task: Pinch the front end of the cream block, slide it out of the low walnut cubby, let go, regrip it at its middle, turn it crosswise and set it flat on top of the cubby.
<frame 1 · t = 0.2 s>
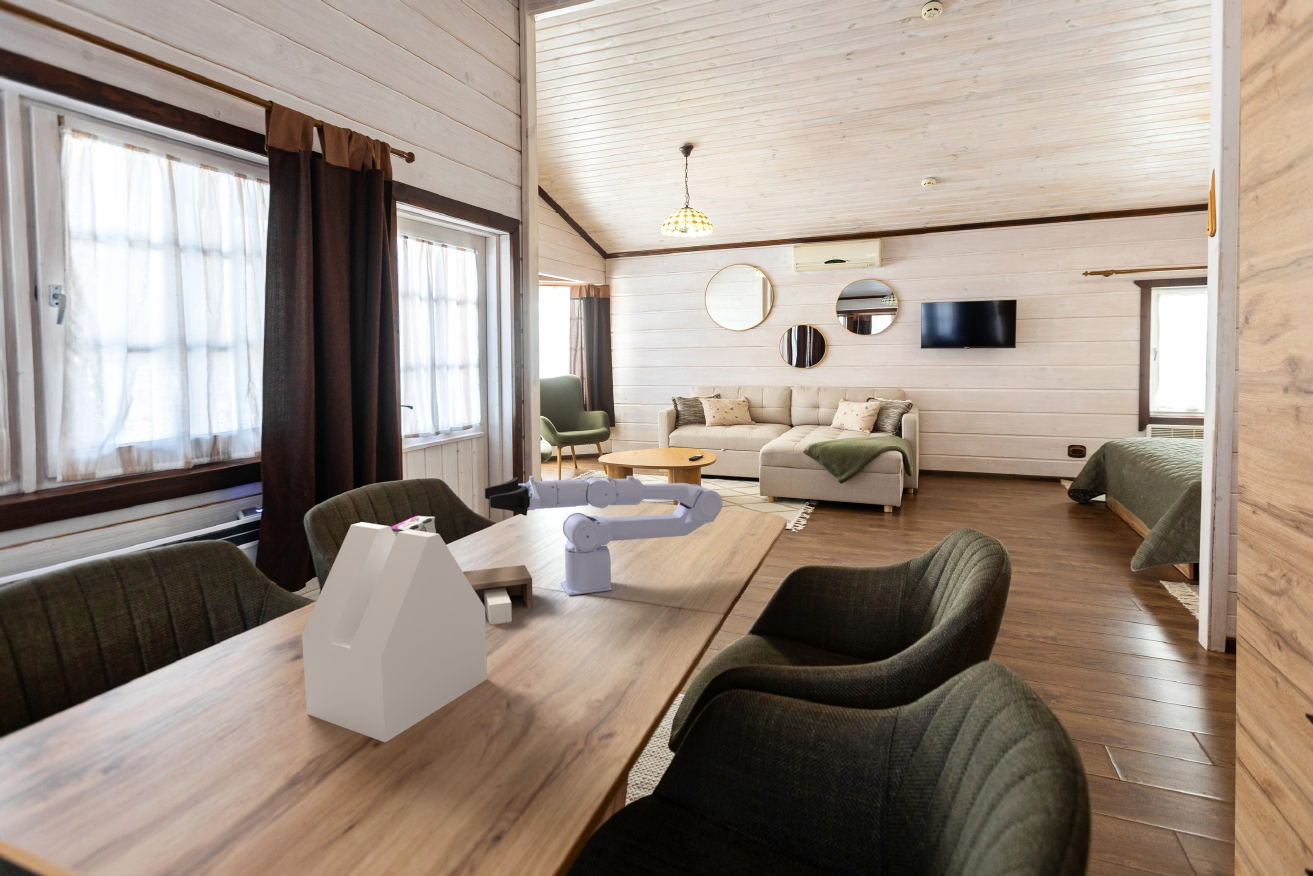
hand: (487, 497, 134), 21 cm above the table, tool horizontal, fingers open, 7 cm apart
cubby: (494, 604, 134), on the table
candy bar box: (414, 601, 136), on the table
block: (497, 615, 128), on the table
white tapered slotted holder: (401, 697, 97), on the table
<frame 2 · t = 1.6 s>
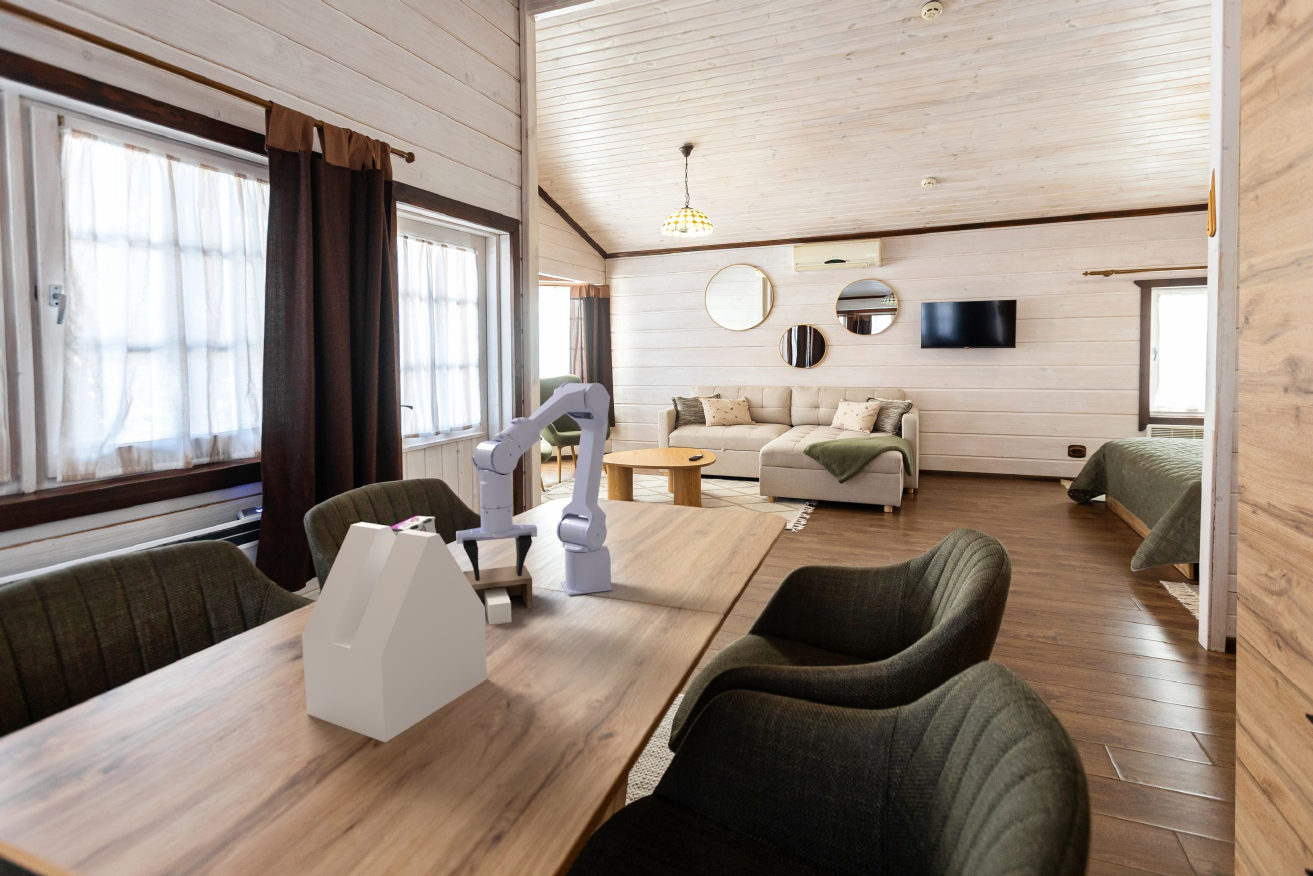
hand: (498, 577, 124), 8 cm above the table, tool pointing down, fingers open, 7 cm apart
nothing on the table moved.
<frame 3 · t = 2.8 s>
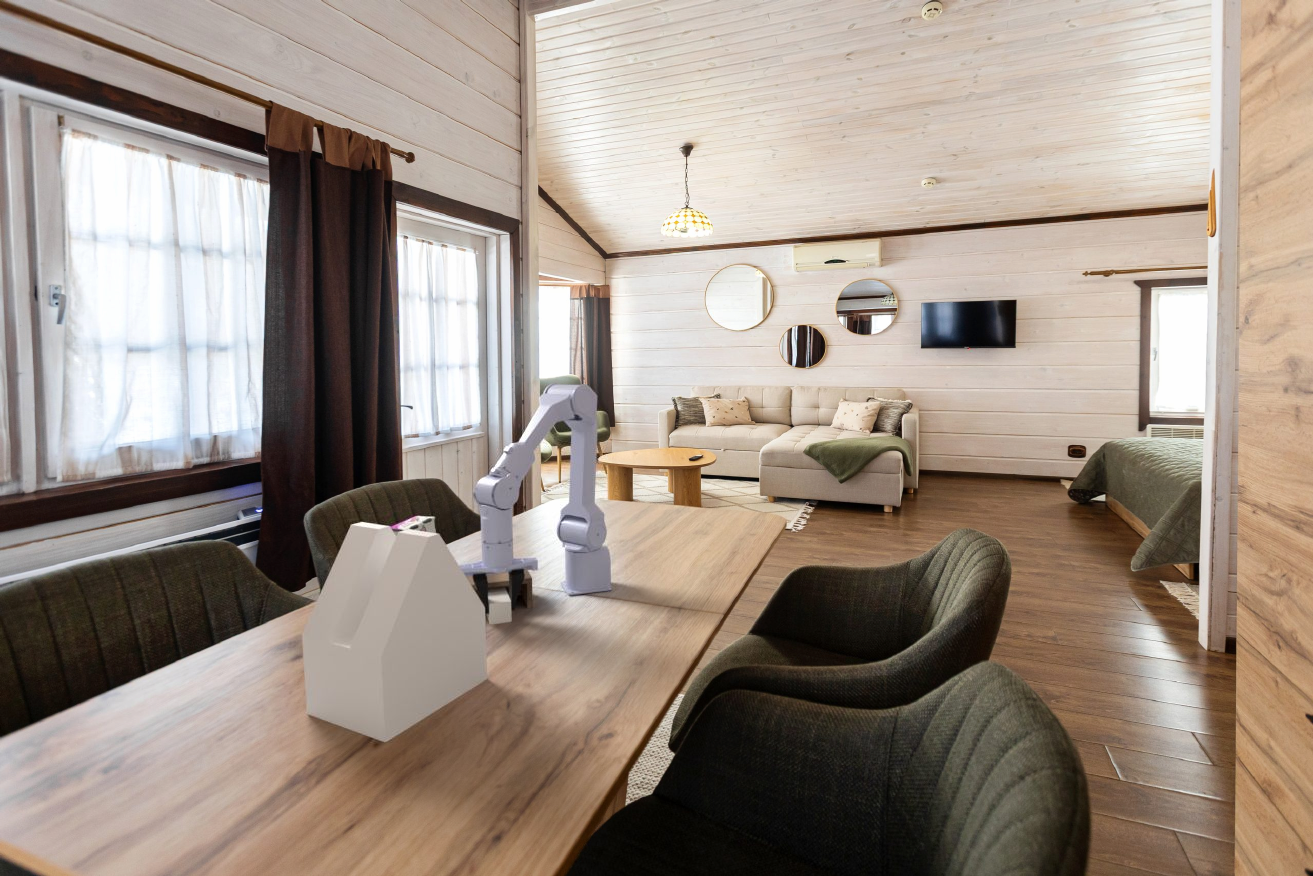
hand: (499, 610, 125), 2 cm above the table, tool pointing down, fingers closed on block, 4 cm apart
block: (497, 614, 128), on the table, touching gripper
everything else where it was.
when the fingers open (2 cm above the table, at t = 5.8 s): block stays where it is, on the table.
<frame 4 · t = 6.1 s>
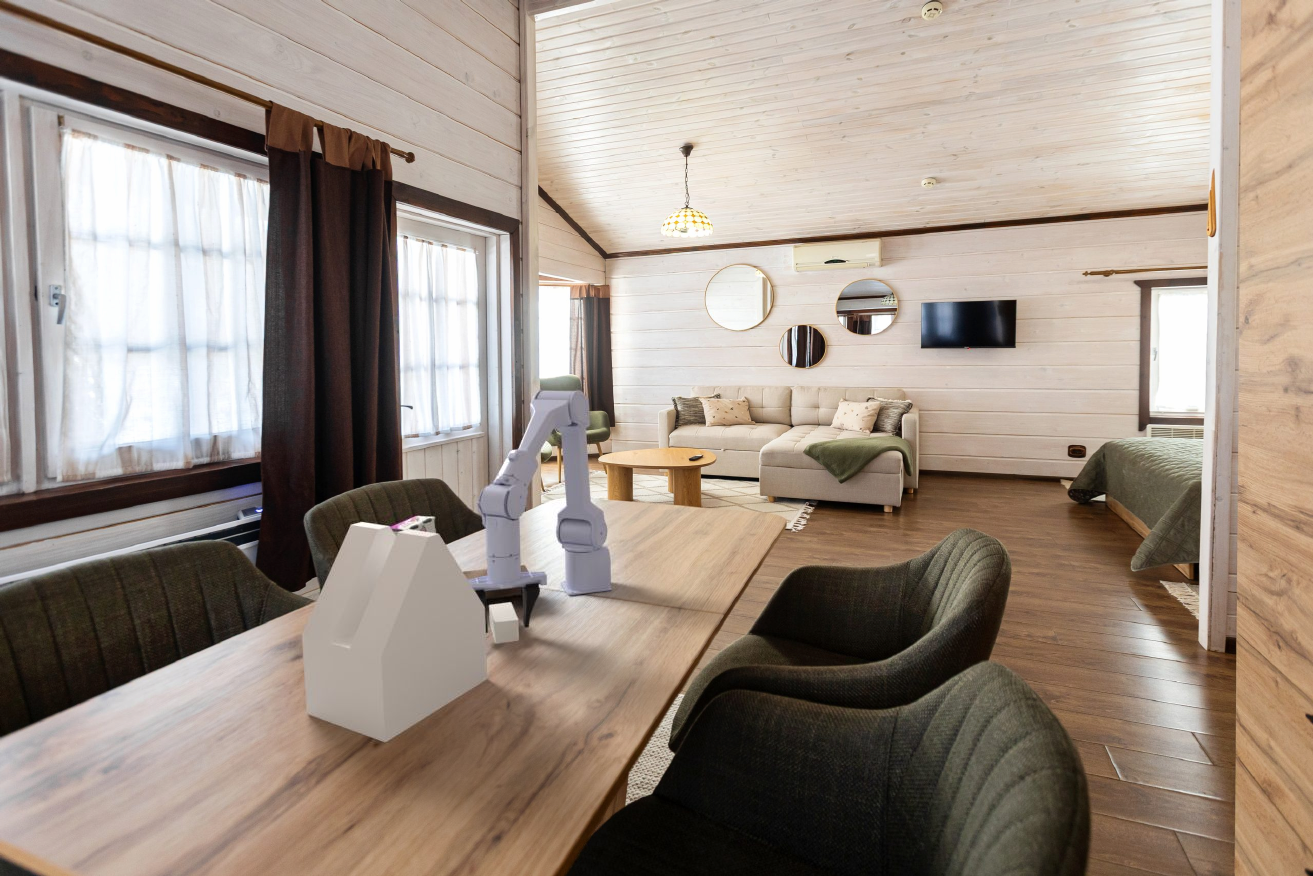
hand: (505, 628, 117), 2 cm above the table, tool pointing down, fingers open, 6 cm apart
block: (503, 633, 120), on the table
everything else where it was.
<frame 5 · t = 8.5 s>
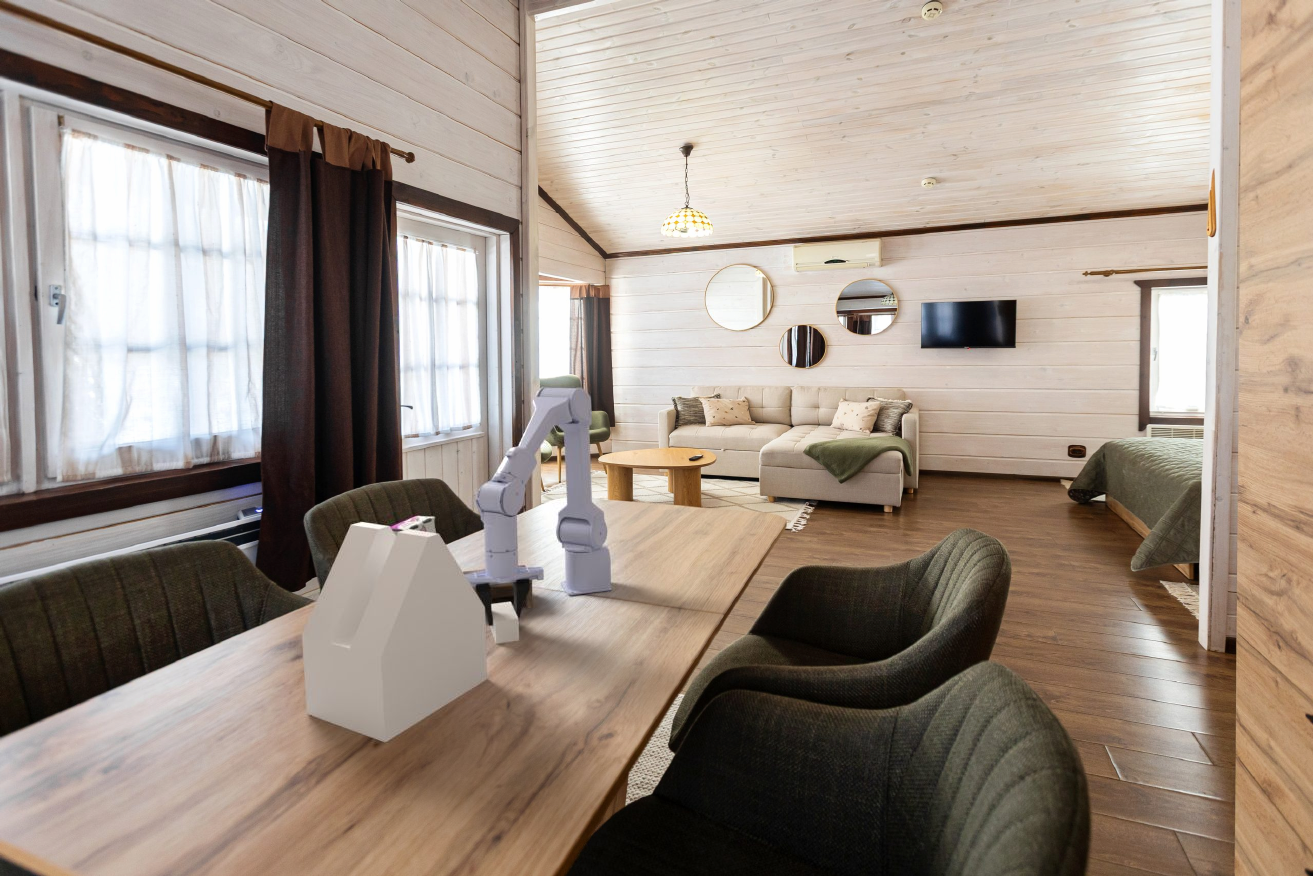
hand: (503, 622, 119), 2 cm above the table, tool pointing down, fingers closed on block, 4 cm apart
block: (503, 632, 120), on the table, touching gripper
everything else where it was.
when the fingers open (9 cm above the table, at t = 12.8 s): block stays where it is, resting on cubby.
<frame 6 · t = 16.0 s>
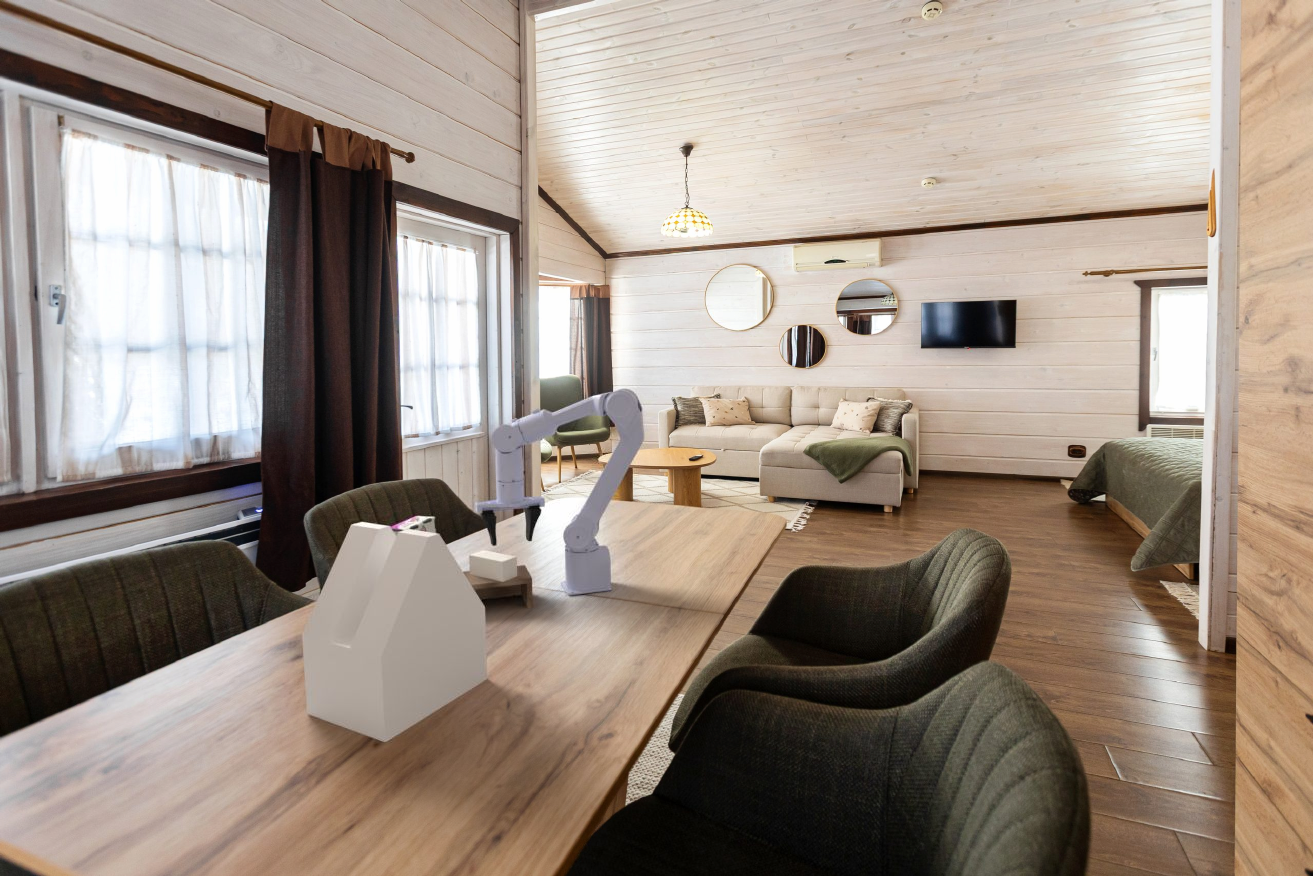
hand: (511, 542, 143), 10 cm above the table, tool pointing down, fingers open, 7 cm apart
block: (493, 575, 133), point 6 cm above the table, touching cubby
everything else where it was.
at the end: block inside the target area on the cubby (0.1 cm from its centre), point 6.0 cm above the cubby's base; block tilted 0°; the gripper is holding nothing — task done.
